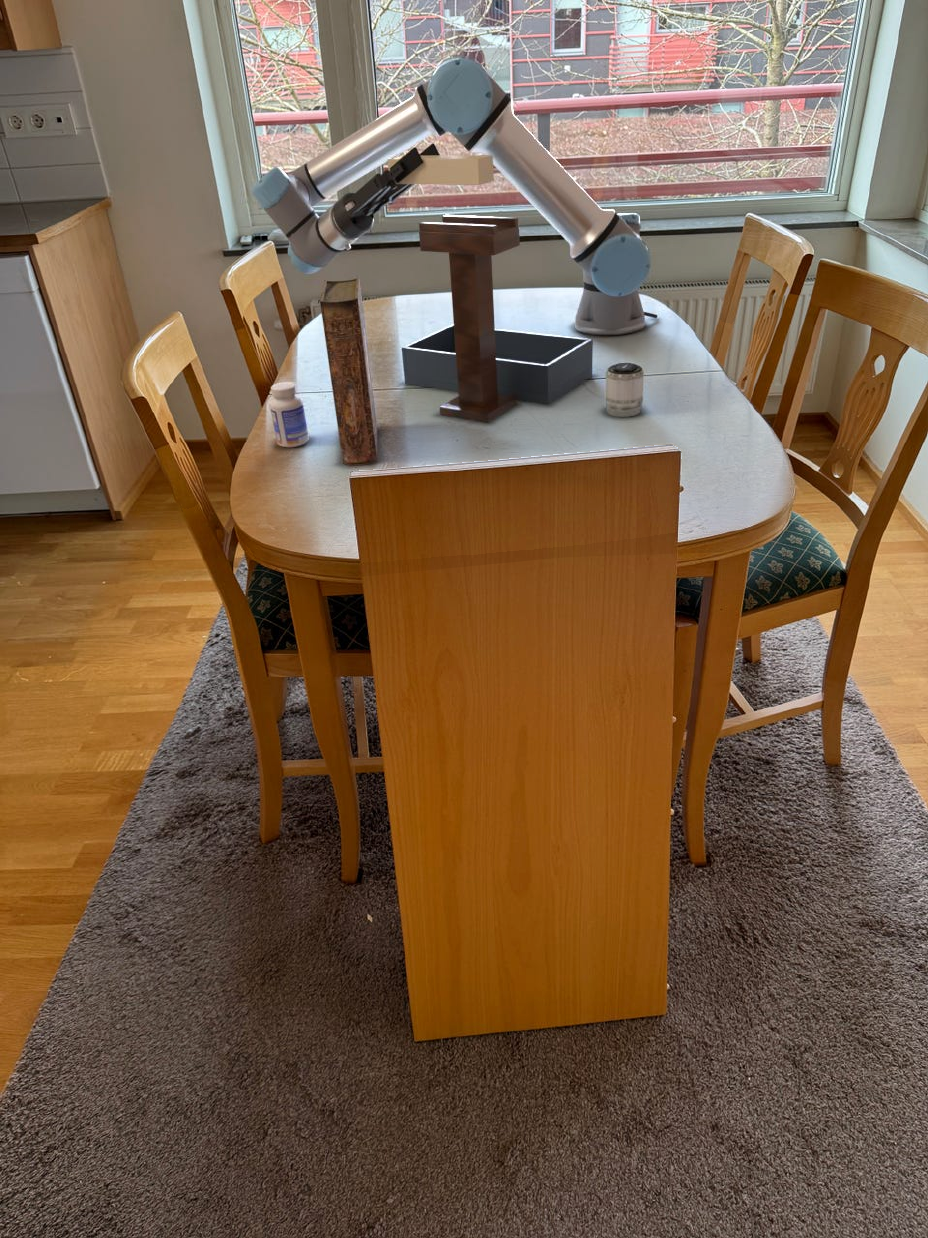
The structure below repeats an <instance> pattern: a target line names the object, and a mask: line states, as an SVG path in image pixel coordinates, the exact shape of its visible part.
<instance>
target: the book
mask: <svg viewBox="0 0 928 1238" xmlns="http://www.w3.org/2000/svg"><path fill="white" fill-rule="evenodd" d="M319 305H320V312H321V320H322V326H323V332H324V333H323V334H324V341H325V346H326V347H325V348H326V354H327V360H328V369H329V374H330V383H331V389H332V395H333V403H334V411H335V417H336V424H337V425H336V426H337V432H338V439H339V447H340V453H341V461H342V464H343V465H345V466H364V465H370V464H373V463H376V462H377V461H378V424H377V423H378V422H377V414H376V407H375V405H376V404H375V398H374V397H375V396H374V390H373V380H372V371H371V362H370V356H369V345H368V337H367V328H366V321H365V312H364V303H363V294H362V287H361V279H360V276H359V277H358V276H357V277H356V278H353V279H347V280H335V281H333V280H327V279H325V280H324V281H323V285H322V291H321V296H320V300H319Z"/></svg>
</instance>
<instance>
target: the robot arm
mask: <svg viewBox="0 0 928 1238" xmlns="http://www.w3.org/2000/svg"><path fill="white" fill-rule="evenodd" d="M513 101H514V100H513V99H512V98H511V97H510V96H509V95H508V94H507V93H506V91H505V90H503V87H501V86H500V84H498V83H497V81H496V80H495V79H494V78H493V77H492V76H491V75H490V74H489V72H488V71H487V69H486V68H485V66H484V65H483V64H482V63H481V62H480V61H478V60H477V59H474V58H472V57H469V56H460V55H459V56H453V57H450V58H446V59H445V60H443V61H442V62H440V64H439V65H438V66H437V67H436V68H435V69H434V71H433V74H432V75H431V76H430V77H429V78H428V79H427V80H426V81H424V82H422V83H421V84H419V85H418V86H416V87H415V88H414V92H413V96H411V97H409V98H408V99H406V100H405V101H403V102H402V103H400V104H399V105H396V106H395V107H393V108H392V109H390V110H389V111H387V112H386V113H384V114H382V115H381V116H379V117H377V118H376V119H374V120H372V121H371V122H369V123H368V124H365V126H363V127H361V128H360V129H357V130H356V131H355V132H353V133H352V134H350V135H349V136H347V137H345V138H343V139H342V140H340V141H338V142H337V143H336V144H334V145H332V146H331V147H329V148H328V149H326V150H325V151H323V152H321V153H319V154H318V155H316V156H315V157H313V158H311V159H310V160H308V161H307V162H306V163H304V164H302V165H300V166H298V167H297V168H296V169H294V170H291V171H290V172H288V173H286V172H285V171H284V170H283V169H282V168H281V167H280V166H274V167H272V168H271V169H270V170H269V171H267V172H266V173H265V174H264V175H263V176H261V178H260V179H259V180H258V181H256V183H255V184H254V185H253V186H252V188H251V194H252V196H253V197H254V198H255V200H256V201H257V203H258V204H259V206H260V208H261V209H263V210H264V212H265V213H266V214H267V215H268V216H269V218H270V219H271V220H272V221H273V222H274V224H275V225H276V226H277V227H278V228H279V230H280V231H281V232H282V233H283V234H284V235H285V237H286V239H287V240H288V242H289V244H288V247H287V255H288V257H289V259H290V262H291V264H292V266H293V267H294V268H295V269H296V270H298V271H299V272H301V273H303V274H307V275H311V274H315V273H317V272H318V271H320V270H321V269H322V268H325V267H326V266H327V265H329V264H330V263H332V261H333V260H334V259H336V258H337V257H338V256H339V255H340V254H342V253H343V252H344V251H345V250H346V251H350V250H351V249H352V246H351V245H352V244H354V243H355V242H356V241H358V239H360V238H361V237H363V236H364V235H365V234H367V233H368V232H369V231H370V230H371V229H373V226H374V222H375V217H374V216H375V215H376V214H378V213H379V212H381V211H382V210H383V208H384V207H386V206H387V205H389V206H391V205H393V204H394V203H395V202H396V201H397V200H398V199H399V198H400V197H401V196H402V195H404V194H405V193H406V192H408V191H409V190H410V189H411V188H412V187H414V186H415V185H416V184H395V182H394V180H396V182H397V183H399V182H401V181H402V180H403V179H404V178H405V177H407V176H408V175H409V174H410V173H411V172H413V171H414V170H415V169H416V168H417V167H418V166H420V165H421V164H422V163H423V160H422V158H421V156H431V155H441V154H440V152H439V150H438V148H437V146H436V144H435V143H431V144H430V145H428V146H427V147H426V148H425V149H423V151H421V152H419V150H418V148H417V147H416V145H418V144H419V143H421V142H423V141H424V140H426V139H427V138H429V137H431V136H435V137H438V138H440V137H441V136H443V135H445V134H446V133H449V134H451V135H452V136H453V137H454V138H455V140H457V141H458V142H459V143H460V144H461V145H462V146H463V147H464V148H465V150H466V151H468V153H470V154H471V153H472V154H473V153H480V154H482V155H493V167H494V168H495V169H497V170H498V171H499V172H500V173H501V174H502V175H503V176H504V178H506V180H507V181H509V183H510V184H511V185H512V186H513V187H514V188H515V189H516V190H517V191H518V192H519V193H520V194H521V195H522V196H523V197H524V198H525V199H526V200H527V201H528V202H529V204H530V205H532V207H533V208H535V210H536V211H538V213H539V214H540V215H541V216H542V217H543V218H544V219H545V220H546V222H548V223H549V225H551V227H552V228H553V229H554V230H556V232H557V233H559V234H560V235H561V237H562V238H563V239H564V240H565V241H566V242H567V243H568V244H569V249H570V250H569V251H570V252H569V254H570V257H571V259H572V260H573V261H574V262H575V263H576V264H577V265H578V266H579V267H580V268H581V269H582V271H583V275H582V279H583V280H582V281H583V283H582V286H583V288H582V290H583V291H582V294H581V298H580V301H579V303H578V307H577V311H576V314H575V317H574V329H576V331H578V332H580V333H582V334H587V335H594V336H617V335H625V334H633V333H635V332H638V331H640V330H642V329H644V327H645V326H646V317H649V318H653V319H657V318H658V314H655V313H651V312H648V311H644V307H643V305H642V301H641V297H640V293H639V288H640V287H641V286H642V285H643V284H644V283H645V282H646V280H647V278H648V276H649V273H650V270H651V254H650V249H649V247H648V244H646V242H645V241H644V240H643V239H642V238H641V237H640V235H641V234H640V231H641V229H642V224H641V217H640V215H639V214H638V213H633V212H631V213H629V212H628V213H617V212H616V210H614V209H612V208H611V209H602V208H601V206H599V205H598V203H596V202H595V200H593V198H592V197H591V196H590V195H589V194H588V192H586V191H585V190H584V188H583V187H581V185H580V184H579V183H578V182H577V181H576V179H574V178H573V177H572V176H571V175H570V173H569V172H568V171H567V170H566V169H565V168H564V166H562V165H561V164H560V163H559V161H558V160H556V158H555V157H554V156H553V155H552V154H551V153H550V152H549V151H548V149H546V147H544V146H543V144H542V143H541V142H540V141H539V140H538V139H537V138H536V137H535V136H534V135H533V134H532V132H530V131H529V130H528V128H527V127H526V126H525V125H524V124H523V123H522V122H521V121H520V119H518V117H517V116H516V115H515V114H514V103H513ZM414 146H415V147H414ZM410 148H411V149H410ZM409 149H410V150H409ZM407 150H409V151H408V152H406V151H407ZM404 152H406V154H404V155H402V156H403V157H402V158H401V159H400V160H399V161H398V162H396V163H395V164H394V165H393V166H392V167H391V168H390V171H389V170H388V169H386V170H384V171H383V172H382V173H380V172H379V173H375V175H374V176H373V177H372V178H371V179H369V180H368V181H367V182H366V183H365V184H363V185H362V187H360V188H359V189H358V190H356V191H355V192H347V193H344V195H343V196H341V197H340V198H339V199H338V200H337V201H336V202H335V203H334V204H332V205H331V206H330V207H329V208H328V209H326V210H325V211H324V212H323V213H322V214H321V215H320V216H319V215H318V214H317V212H316V210H315V209H314V208H313V207H315V206H316V205H318V204H320V203H321V202H323V201H324V200H326V199H327V198H329V197H330V196H333V195H334V194H335V193H337V192H339V191H341V190H343V188H345V187H348V186H349V185H351V184H352V183H354V182H355V181H357V180H359V179H361V178H362V177H364V176H365V175H367V174H369V173H371V172H372V171H374V170H376V169H378V168H379V167H381V166H383V165H384V164H386V163H388V160H387V159H390V158H395V157H398V156H400V154H403V153H404Z"/></svg>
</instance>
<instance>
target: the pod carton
mask: <svg viewBox="0 0 928 1238" xmlns="http://www.w3.org/2000/svg"><path fill="white" fill-rule="evenodd" d="M403 156H404V155H398V156H396V157H394V158H390V159H387V160H388V161H387V170H389V171H390V168H391V167H392V166H393V165H394V164H395V163H396V162H398V161H399V160H400V159H401V158H402V157H403ZM421 158H422V160H423V163H422V164H421V165H420V166H418V167H417V168H416V169H415V170H414V171H413V172H411V173H410V174H409V175H408V176H407V177H405V178H404V179H403V180H402V181H401V182H399V183H397V182H396V180H394V182H395V184H415V185H439V186H440V185H445V186H446V185H448V186H449V185H450V186H451V185H452V186H454V185H455V186H480V185H484V184H488V183H492V182H494V181H495V178H494V177H495V176H494V174H495V173H494V165H493V155H484V154H477V155H476V154H474V155H473V154H472V155H471V154H469V155H467V154H466V155H464V154H463V155H461V154H459V155H457V154H456V155H453V154H451V155H449V154H448V155H447V154H445V155H444V154H443V155H442V154H440V155H431V156H421Z"/></svg>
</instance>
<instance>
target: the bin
mask: <svg viewBox="0 0 928 1238" xmlns="http://www.w3.org/2000/svg"><path fill="white" fill-rule="evenodd" d="M593 344H594V339H593V338H584V337H575V336H566V335H556V334H547V333H539V332H530V331H529V332H528V331H519V330H510V329H502V328H501V329H500V328H495V345H496V368H497V390H498V394H504V395H510V396H517V402H526V403H531V404H538V405H545V406H550V405H551V404H552V403H555V401H557V400H559V399H560V398H562V397H563V396H565V395H566V394H568V393H569V392H571V391H572V390H574V389H575V388H577V387H579V386H580V385H581V384H583V383H584V382H585V381H587V380H589V379H590V378H592V377H593V357H594V356H593V353H594V352H593V351H594V349H593V347H594V345H593ZM401 356H402V366H403V377H404V384H405V385H411V386H417V387H423V388H431V389H437V390H444V391H451V392H452V391H453V392H457V393H458V379H457V365H456V350H455V335H454V323H453V324H450V325H447V326H445V327H443V328H442V329H439V330H437V331H435V332H433V333H431V334H428V335H426V336H424V337H422V338H420V339H417V340H415V341H413V342H411V343H408V344H407V345H404V346H403V347H401Z"/></svg>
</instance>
